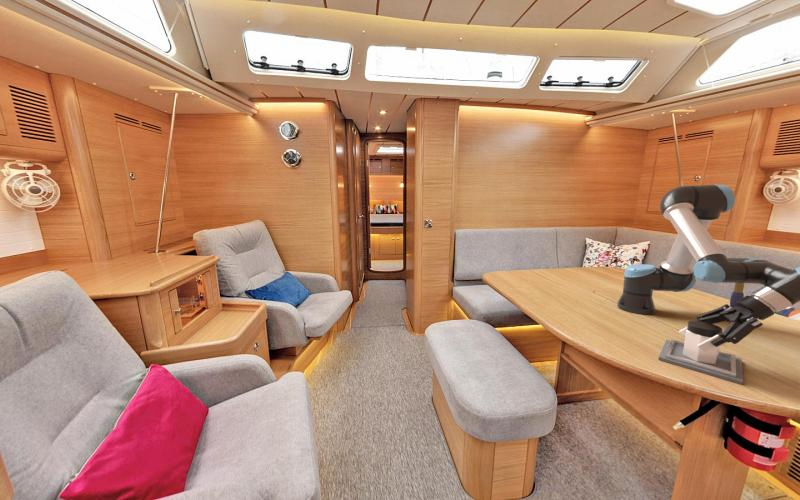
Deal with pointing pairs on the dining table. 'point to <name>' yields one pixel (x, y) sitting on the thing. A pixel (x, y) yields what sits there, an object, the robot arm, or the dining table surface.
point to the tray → (698, 364)
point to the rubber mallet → (737, 287)
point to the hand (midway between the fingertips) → (691, 341)
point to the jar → (697, 335)
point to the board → (721, 363)
